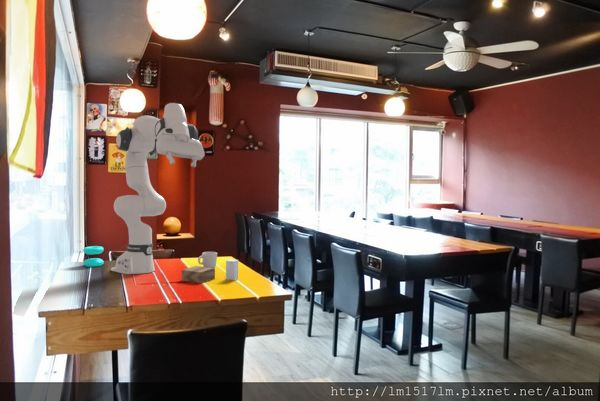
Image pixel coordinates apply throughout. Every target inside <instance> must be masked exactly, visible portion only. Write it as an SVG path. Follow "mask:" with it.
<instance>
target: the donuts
mask: <svg viewBox="0 0 600 401" xmlns="http://www.w3.org/2000/svg"><path fill="white" fill-rule="evenodd" d="M103 252H104V247H103V246H99V245H92V246H86V247H84V248H83V253H84V254H86V255H99V254H102V253H103ZM82 264H83V266H84V267H86V268H95V267H101V266H102V265H104V260H103V259H102V258H99V257H93V258H91V257H90V258H87V259H84V261H83V263H82Z"/></svg>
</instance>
